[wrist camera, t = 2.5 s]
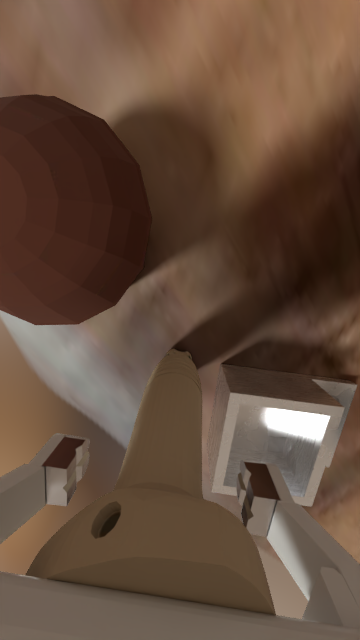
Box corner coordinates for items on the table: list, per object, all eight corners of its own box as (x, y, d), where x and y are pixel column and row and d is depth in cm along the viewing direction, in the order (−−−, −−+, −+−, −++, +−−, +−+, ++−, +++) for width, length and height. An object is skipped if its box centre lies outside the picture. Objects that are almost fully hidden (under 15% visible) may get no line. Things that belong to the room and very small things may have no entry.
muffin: (75, 328, 19) (-45, 383, 9) (5, 214, 17) (-235, 135, 8) (189, 270, 17) (186, 264, 8) (125, 137, 16) (17, -93, 6)
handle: (218, 374, 19) (304, 681, 5) (156, 395, 20) (66, 711, 6) (200, 328, 18) (238, 531, 4) (136, 351, 19) (-32, 592, 5)
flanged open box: (220, 363, 19) (230, 392, 14) (350, 380, 19) (403, 415, 14) (206, 443, 21) (211, 492, 16) (323, 460, 21) (362, 513, 16)
